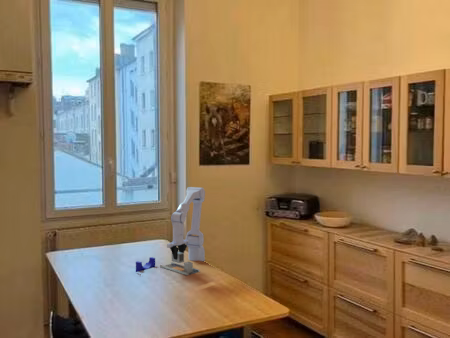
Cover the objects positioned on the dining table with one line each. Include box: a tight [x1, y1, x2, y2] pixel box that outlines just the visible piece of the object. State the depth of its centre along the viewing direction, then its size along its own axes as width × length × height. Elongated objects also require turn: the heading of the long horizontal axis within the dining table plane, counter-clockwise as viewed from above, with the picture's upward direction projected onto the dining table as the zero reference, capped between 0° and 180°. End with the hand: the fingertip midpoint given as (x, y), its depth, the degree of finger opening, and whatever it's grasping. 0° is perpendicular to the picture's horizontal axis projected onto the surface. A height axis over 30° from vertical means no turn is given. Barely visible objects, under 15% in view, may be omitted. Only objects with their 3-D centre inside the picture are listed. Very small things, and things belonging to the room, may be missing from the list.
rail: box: [159, 261, 201, 277], centre depth 255 cm, size 10×22×2 cm, turn 48°
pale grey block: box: [171, 251, 185, 264], centre depth 255 cm, size 4×6×5 cm, turn 48°
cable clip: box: [135, 257, 156, 273], centre depth 258 cm, size 12×4×6 cm, turn 145°
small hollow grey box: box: [183, 261, 194, 273], centre depth 250 cm, size 4×3×5 cm
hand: (178, 258), depth 255 cm, fingers closed on pale grey block, 3 cm apart
